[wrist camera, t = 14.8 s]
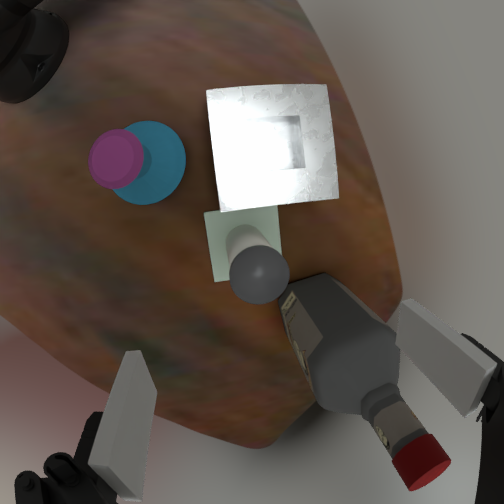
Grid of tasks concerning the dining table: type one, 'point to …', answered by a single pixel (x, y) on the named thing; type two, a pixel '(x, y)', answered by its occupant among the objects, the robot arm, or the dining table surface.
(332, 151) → the housing
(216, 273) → the mat
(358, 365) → the liquor
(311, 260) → the dining table surface
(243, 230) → the salt shaker
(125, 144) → the perfume bottle
